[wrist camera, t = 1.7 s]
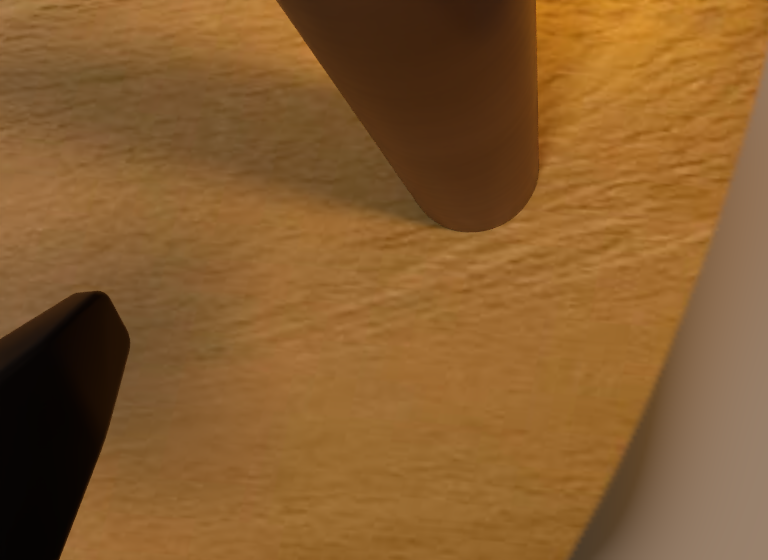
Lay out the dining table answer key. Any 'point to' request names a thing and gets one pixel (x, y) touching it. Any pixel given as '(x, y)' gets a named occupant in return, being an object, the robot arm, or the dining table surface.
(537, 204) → the dining table surface
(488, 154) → the dowel
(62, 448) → the robot arm
